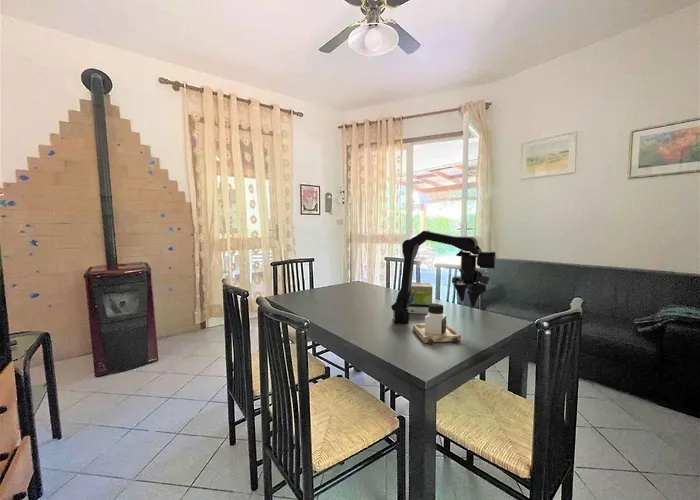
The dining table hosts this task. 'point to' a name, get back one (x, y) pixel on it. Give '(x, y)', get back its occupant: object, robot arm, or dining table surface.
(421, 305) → the tea box
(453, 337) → the trolley
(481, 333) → the dining table surface
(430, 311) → the medicine bottle
